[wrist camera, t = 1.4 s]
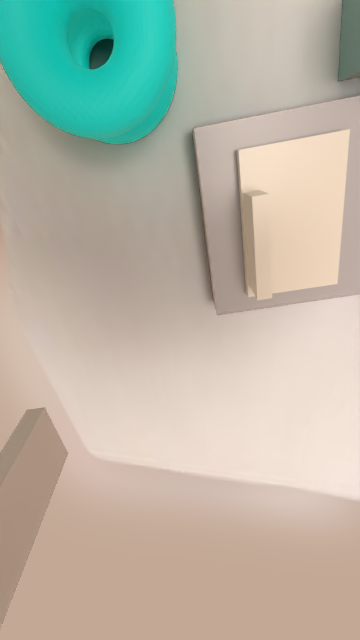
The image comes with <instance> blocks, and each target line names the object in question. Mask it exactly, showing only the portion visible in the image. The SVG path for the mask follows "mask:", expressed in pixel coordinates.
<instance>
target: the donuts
mask: <svg viewBox="0 0 360 640" xmlns="http://www.w3.org/2000/svg"><path fill="white" fill-rule="evenodd" d="M103 39H112V40H114V46H113V50H112V54H111V56H110V58H109V60H108V61H107V62H106V63H105V64H104V65H103V66H101V67H99V68H96V69H90V67H89V57H90V53H91V50H92V48H93V47H94V45H95V44H96V43H97V42H99V41H100V40H103ZM0 62H1V64H2V66H3V68H4V70H5V72H6V74H7V76H8V77H9V79H10V81H11V82H12V84H13V86H14V87H15V88H16V90H17V91H18V93H19V94H20V95H21V96H22V98H23V99H24V100H25V101H26V102H27V104H28V105H29V106H30V107H31V108H32V109H33V110H34V111H35V112H36V113H37V114H38V115H40V116H41V117H42V118H43V119H45V120H46V121H47V122H49V123H50V124H52V125H53V126H55V127H57V128H59V129H60V130H63V131H65V132H67V133H70V134H73V135H76V136H80V137H84V138H92V139H95V140H98V141H101V142H105V143H110V144H125V143H130V142H134V141H137V140H139V139H141V138H143V137H145V136H146V135H148V134H149V133H150V132H151V131H153V130H154V129H155V128H156V127H157V126H158V124H159V123H160V122H161V121H162V119H163V118H164V116H165V115H166V113H167V111H168V109H169V107H170V104H171V102H172V99H173V96H174V92H175V87H176V81H177V53H176V18H175V9H174V2H173V0H0Z"/></svg>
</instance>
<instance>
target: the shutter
mask: <svg viewBox="0 0 360 640" xmlns="http://www.w3.org/2000/svg"><path fill="white" fill-rule="evenodd" d="M349 136H350V129H348V130H343V131H337V132H332V133H327V134H321V135H316V136H311V137H305V138H300V139H295V140H289V141H284V142H279V143H273V144H268V145H263V146H257V147H252V148H247V149H241V150H236V151H237V166H238V180H239V195H240V209H241V223H242V238H243V252H244V267H245V281H246V293H247V295H248V297H253V296H255V297H256V299H257V300H264V299H270V298H272V294H273V293H280V292H287V291H293V290H300V289H307V288H313V287H320V286H327V285H333V284H338V272H339V259H340V247H341V235H342V222H343V210H344V198H345V185H346V173H347V161H348V148H349Z"/></svg>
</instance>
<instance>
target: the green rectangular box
mask: <svg viewBox="0 0 360 640" xmlns="http://www.w3.org/2000/svg"><path fill="white" fill-rule="evenodd" d="M357 77H360V0H343V4H342V21H341V37H340V53H339V69H338V81H342V80H347V79H352V78H357Z"/></svg>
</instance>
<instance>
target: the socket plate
mask: <svg viewBox="0 0 360 640" xmlns="http://www.w3.org/2000/svg"><path fill="white" fill-rule="evenodd" d="M348 129H350V136H349V148H348V161H347V173H346V185H345V198H344V210H343V222H342V235H341V247H340V259H339V272H338V284H333V285H327V286H320V287H313V288H307V289H300V290H293V291H287V292H280V293H273V294H272V298H270V299H264V300H257V299H256V297H255V296H253V297H248V295H247V293H246V281H245V267H244V252H243V238H242V223H241V209H240V195H239V180H238V166H237V151H236V150H241V149H247V148H252V147H257V146H263V145H268V144H273V143H279V142H284V141H289V140H295V139H300V138H305V137H311V136H316V135H321V134H327V133H332V132H337V131H343V130H348ZM192 133H193V141H194V149H195V157H196V165H197V173H198V181H199V189H200V197H201V205H202V213H203V221H204V229H205V237H206V245H207V252H208V260H209V268H210V276H211V284H212V292H213V300H214V305H215V309H216V313H217V315H222V314H228V313H235V312H242V311H249V310H256V309H263V308H270V307H276V306H283V305H290V304H297V303H304V302H311V301H317V300H324V299H331V298H338V297H345V296H352V295H358V294H360V96H355V97H350V98H344V99H339V100H334V101H329V102H324V103H319V104H314V105H309V106H304V107H298V108H293V109H288V110H283V111H278V112H273V113H268V114H263V115H258V116H252V117H247V118H242V119H237V120H232V121H227V122H222V123H217V124H212V125H206V126H201V127H196V128H194V129H193V132H192Z"/></svg>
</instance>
